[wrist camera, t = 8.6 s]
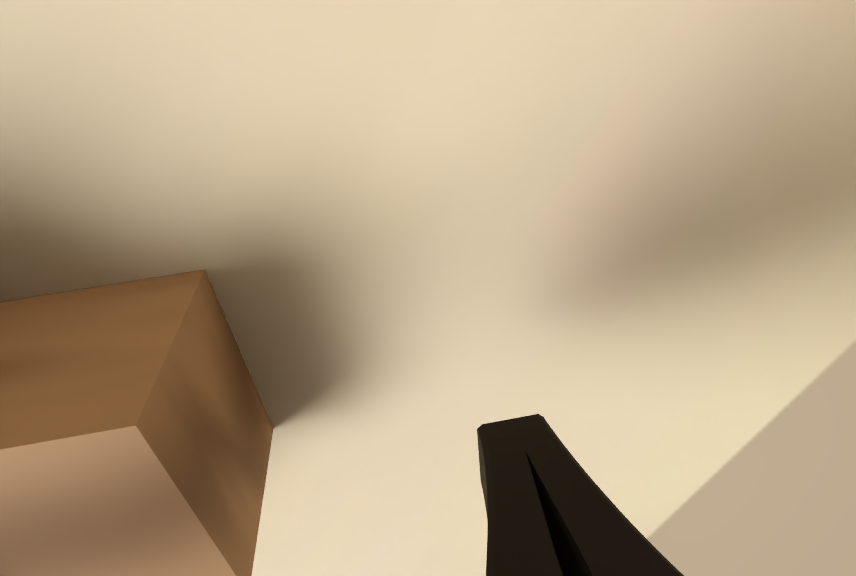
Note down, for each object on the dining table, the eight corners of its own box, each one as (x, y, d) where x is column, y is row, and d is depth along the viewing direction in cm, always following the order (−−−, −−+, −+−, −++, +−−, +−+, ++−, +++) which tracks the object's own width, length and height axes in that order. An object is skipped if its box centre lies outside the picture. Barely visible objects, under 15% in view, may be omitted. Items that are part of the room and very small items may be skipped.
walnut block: (273, 426, 16) (248, 594, 12) (112, 455, 15) (28, 637, 11) (205, 267, 12) (135, 425, 8) (-4, 300, 12) (-186, 482, 8)
